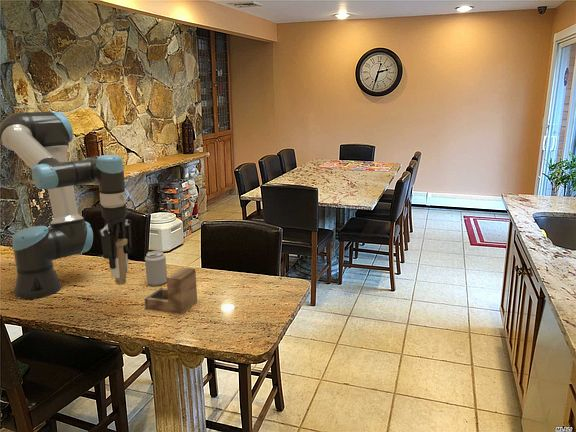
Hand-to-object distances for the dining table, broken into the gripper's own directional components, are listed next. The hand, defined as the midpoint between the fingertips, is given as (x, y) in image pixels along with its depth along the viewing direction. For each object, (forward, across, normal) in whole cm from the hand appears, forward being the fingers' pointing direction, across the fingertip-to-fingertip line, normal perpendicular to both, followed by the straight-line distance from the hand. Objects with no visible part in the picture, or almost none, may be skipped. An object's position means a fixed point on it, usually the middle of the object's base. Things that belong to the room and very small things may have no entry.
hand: (120, 274), depth 153 cm
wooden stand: (+12, +8, -15) cm, 21 cm away
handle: (+3, 0, 0) cm, 3 cm away
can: (+13, +24, +2) cm, 27 cm away
